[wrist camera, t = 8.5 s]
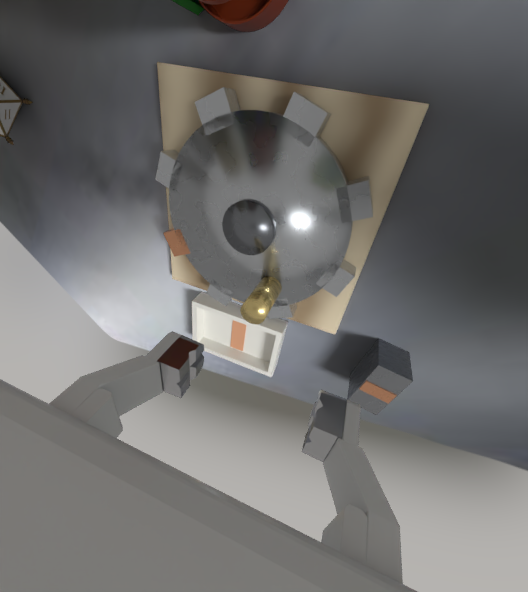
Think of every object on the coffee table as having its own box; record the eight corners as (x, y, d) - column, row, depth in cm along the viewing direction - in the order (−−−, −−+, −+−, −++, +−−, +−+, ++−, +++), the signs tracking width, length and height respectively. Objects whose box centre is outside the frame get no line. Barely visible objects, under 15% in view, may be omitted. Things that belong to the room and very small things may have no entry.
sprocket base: (427, 104, 19) (429, 104, 18) (336, 329, 32) (335, 334, 31) (164, 64, 24) (157, 62, 23) (176, 275, 36) (172, 278, 36)
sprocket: (384, 301, 27) (385, 348, 21) (213, 313, 36) (182, 347, 30) (352, 30, 18) (339, -11, 12) (134, 139, 27) (71, 144, 21)
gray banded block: (409, 351, 30) (412, 382, 27) (376, 385, 34) (376, 415, 31) (378, 337, 31) (378, 365, 27) (350, 372, 35) (347, 401, 31)
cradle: (288, 321, 34) (282, 333, 32) (277, 365, 39) (271, 377, 37) (201, 291, 36) (191, 301, 34) (201, 335, 41) (192, 346, 39)
